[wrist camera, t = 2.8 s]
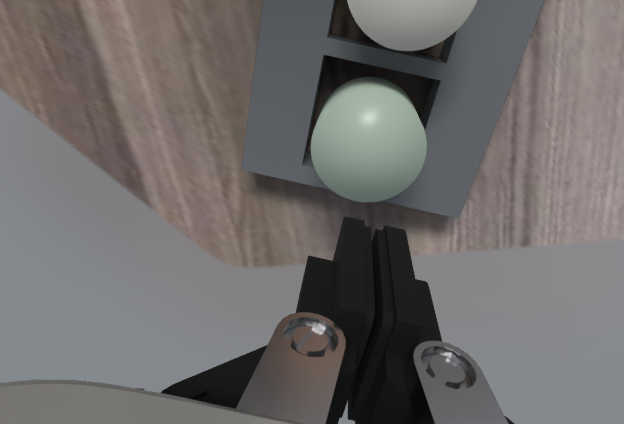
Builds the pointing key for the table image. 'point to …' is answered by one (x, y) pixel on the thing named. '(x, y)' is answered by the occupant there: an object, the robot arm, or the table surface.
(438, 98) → the pebble holder tray
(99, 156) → the table surface
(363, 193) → the sage egg
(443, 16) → the cream egg
